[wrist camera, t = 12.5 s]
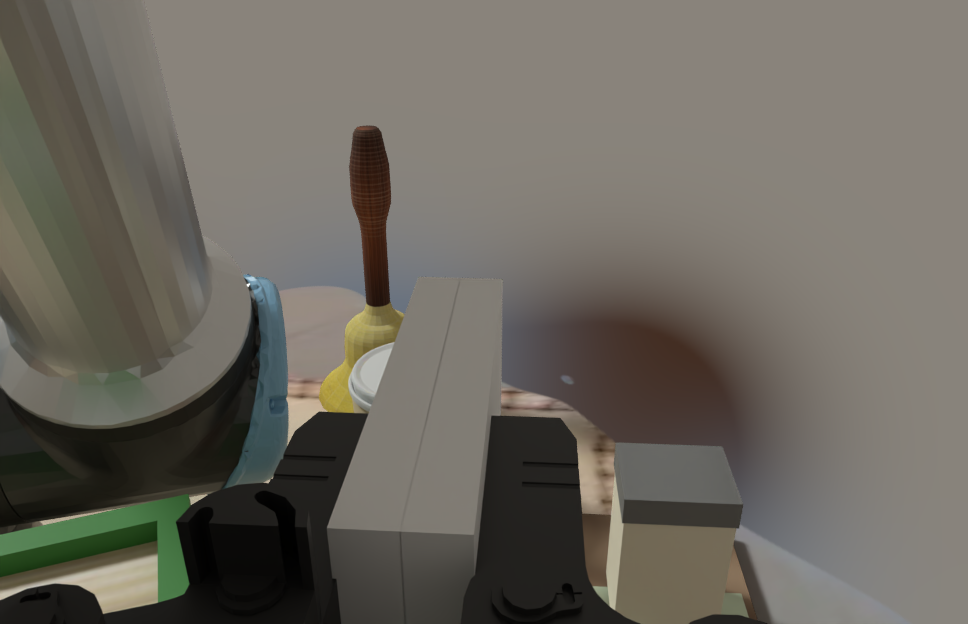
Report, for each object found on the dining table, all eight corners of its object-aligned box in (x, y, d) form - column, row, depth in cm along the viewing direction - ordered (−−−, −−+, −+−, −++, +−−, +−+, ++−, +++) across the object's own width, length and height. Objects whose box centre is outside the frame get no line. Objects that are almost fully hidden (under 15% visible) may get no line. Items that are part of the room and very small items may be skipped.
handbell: (472, 399, 73) (470, 132, 62) (350, 440, 67) (324, 153, 56) (410, 347, 82) (399, 107, 71) (299, 379, 76) (269, 123, 65)
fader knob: (718, 641, 45) (743, 504, 41) (610, 635, 45) (624, 499, 41) (701, 575, 50) (722, 446, 45) (604, 570, 50) (615, 442, 46)
